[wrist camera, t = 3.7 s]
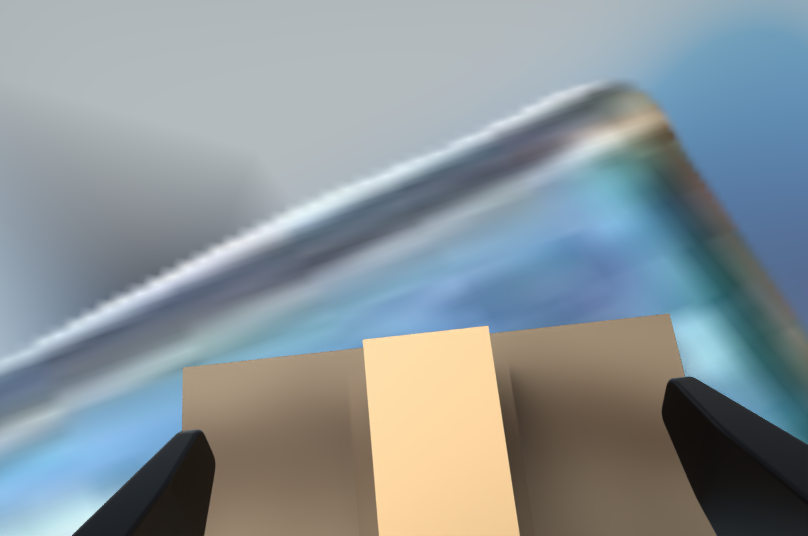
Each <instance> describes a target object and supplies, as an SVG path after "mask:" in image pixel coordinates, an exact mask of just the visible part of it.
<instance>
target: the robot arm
mask: <svg viewBox="0 0 808 536" xmlns="http://www.w3.org/2000/svg"><path fill="white" fill-rule="evenodd" d="M661 411H662V419H663V422H664V424H665V427H666V429H667V431H668V434H669V436H670V438H671V441H672V443H673V445H674V448H675V450H676V453H677V455H678V457H679V460H680V462H681V464H682V467H683V469H684V471H685V474H686V476H687V478H688V481H689V483H690V485H691V488H692V490H693V492H694V494H695V496H696V498H697V500H698V502H699V504H700V506H701V508H702V510H703V512H704V513H705V515H706V517H707V519H708V521H709V523H710V524H711V526H712V528H713V530H714V532H715V533H716V535H717V536H808V445H807V444H806V443H804V442H802V441H801V440H799V439H797V438H795V437H794V436H792V435H790V434H789V433H787V432H785V431H784V430H782V429H780V428H779V427H777V426H775V425H773V424H772V423H770V422H768V421H767V420H765V419H763V418H762V417H760V416H758V415H757V414H755V413H753V412H751V411H750V410H748V409H746V408H745V407H743V406H741V405H740V404H738V403H736V402H735V401H733V400H731V399H729V398H728V397H726V396H724V395H723V394H721V393H719V392H718V391H716V390H714V389H713V388H711V387H709V386H707V385H706V384H704V383H702V382H701V381H699V380H697V379H695V378H693V377H680V378H672V379H670V380H669V381H668V382H667V385H666V390H665V394H664V399H663V404H662V410H661ZM215 468H216V462H215V457H214V454H213V452H212V450H211V447H210V445H209V443H208V441H207V438H206V436H205V434H204V432H203V431H202V430H199V429H196V430H186V431H181V432H179V433H177V434H176V435H175V436H174V437H173V438H172V439H171V440H170V441H169V442H168V443H167V444H166V445H165V446H164V447H163V448H161V449H160V450H159V451H158V452H157V453H156V454H155V455H154V456H153V457H152V458H151V459H150V460H149V461H148V462H147V463H146V464H145V465H144V466H143V467H142V468H141V469H140V470H139V471H138V472H137V473H136V474H135V475H134V476H133V477H132V478H131V479H130V480H129V481H127V482H126V483H125V484H124V485H123V486H122V487H121V488H120V489H119V490H118V491H117V492H116V493H115V494H114V495H113V496H112V497H111V498H110V499H109V500H108V501H107V502H106V503H105V504H104V505H103V506H102V507H101V508H100V509H99V510H98V511H97V512H96V513H94V514H93V515H92V516H91V517H90V518H89V519H88V520H87V521H86V522H85V523H84V524H83V525H82V526H81V527H80V528H79V529H78V530H77V531H76V532H75V533H74V534H73V535H72V536H204V535H205V529H206V523H207V517H208V511H209V505H210V499H211V493H212V487H213V481H214V475H215Z"/></svg>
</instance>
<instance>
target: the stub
mask: <svg viewBox="0 0 808 536" xmlns="http://www.w3.org/2000/svg"><path fill="white" fill-rule="evenodd" d="M363 348H364V360H365V372H366V385H367V397H368V409H369V421H370V433H371V445H372V457H373V469H374V481H375V493H376V505H377V518H378V530H379V536H520V534H519V527H518V521H517V514H516V507H515V501H514V494H513V487H512V481H511V474H510V467H509V461H508V454H507V447H506V441H505V434H504V427H503V421H502V414H501V407H500V401H499V394H498V387H497V381H496V374H495V367H494V361H493V354H492V347H491V341H490V334H489V328H488V326H482V327H473V328H464V329H455V330H446V331H437V332H428V333H419V334H410V335H401V336H392V337H383V338H375V339H366V340H363Z"/></svg>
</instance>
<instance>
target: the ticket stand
mask: <svg viewBox="0 0 808 536" xmlns="http://www.w3.org/2000/svg"><path fill="white" fill-rule="evenodd" d="M490 341H491V347H492V354H493V361H494V367H495V374H496V381H497V387H498V394H499V401H500V407H501V414H502V421H503V427H504V434H505V441H506V447H507V454H508V461H509V467H510V474H511V481H512V487H513V494H514V501H515V507H516V514H517V521H518V527H519V534H520V536H717V535H716V533H715V532H714V530H713V528H712V526H711V524H710V523H709V521H708V519H707V517H706V515H705V513H704V512H703V510H702V508H701V506H700V504H699V502H698V500H697V498H696V496H695V494H694V492H693V490H692V488H691V485H690V483H689V481H688V478H687V476H686V474H685V471H684V469H683V467H682V464H681V462H680V460H679V457H678V455H677V453H676V450H675V448H674V445H673V443H672V441H671V438H670V436H669V434H668V431H667V429H666V427H665V424H664V422H663V419H662V411H661V410H662V404H663V399H664V394H665V390H666V385H667V382H668V381H669V380H670V379H672V378H680V377H685V375H684V371H683V367H682V363H681V359H680V355H679V351H678V346H677V342H676V338H675V334H674V330H673V326H672V322H671V318H670V314H662V315H653V316H644V317H635V318H626V319H617V320H608V321H599V322H590V323H581V324H572V325H563V326H554V327H545V328H536V329H527V330H518V331H509V332H500V333H491V334H490ZM196 429H199V430H202V431H203V432H204V434H205V436H206V438H207V441H208V443H209V445H210V447H211V450H212V452H213V454H214V457H215V462H216V468H215V475H214V481H213V487H212V493H211V499H210V505H209V511H208V517H207V523H206V529H205V535H204V536H379V530H378V518H377V505H376V493H375V481H374V469H373V457H372V445H371V433H370V421H369V409H368V397H367V385H366V372H365V360H364V348H356V349H347V350H338V351H329V352H320V353H311V354H302V355H293V356H284V357H275V358H266V359H257V360H248V361H239V362H230V363H221V364H212V365H203V366H194V367H185V368H183V405H182V431H186V430H196Z"/></svg>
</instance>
